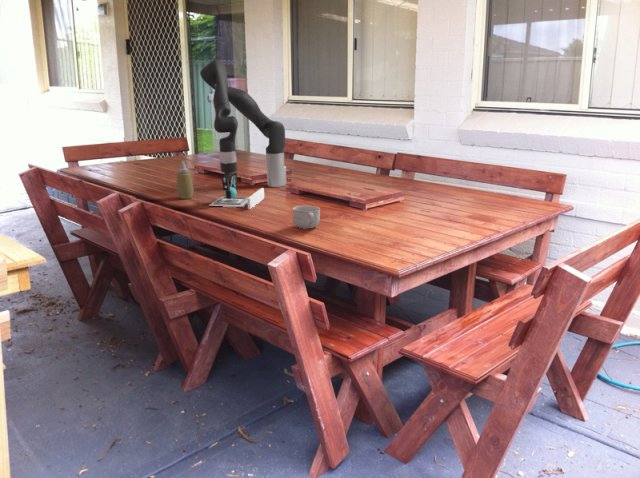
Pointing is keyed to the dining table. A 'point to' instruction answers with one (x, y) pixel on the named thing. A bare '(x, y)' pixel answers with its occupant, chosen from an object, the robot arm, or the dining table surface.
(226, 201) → the pad
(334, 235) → the dining table surface
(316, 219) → the teacup
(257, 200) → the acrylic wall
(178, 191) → the squeeze bottle
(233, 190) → the teal ball
